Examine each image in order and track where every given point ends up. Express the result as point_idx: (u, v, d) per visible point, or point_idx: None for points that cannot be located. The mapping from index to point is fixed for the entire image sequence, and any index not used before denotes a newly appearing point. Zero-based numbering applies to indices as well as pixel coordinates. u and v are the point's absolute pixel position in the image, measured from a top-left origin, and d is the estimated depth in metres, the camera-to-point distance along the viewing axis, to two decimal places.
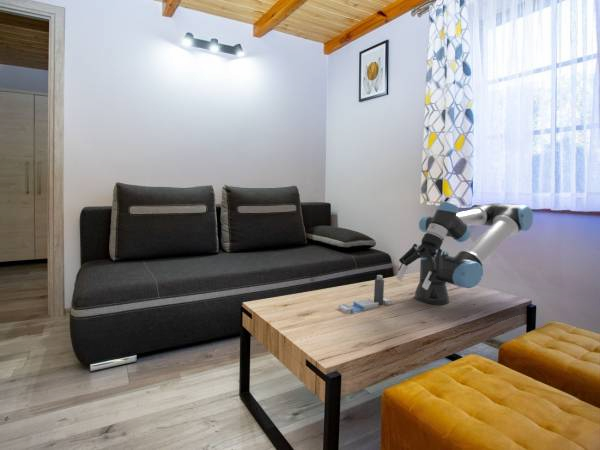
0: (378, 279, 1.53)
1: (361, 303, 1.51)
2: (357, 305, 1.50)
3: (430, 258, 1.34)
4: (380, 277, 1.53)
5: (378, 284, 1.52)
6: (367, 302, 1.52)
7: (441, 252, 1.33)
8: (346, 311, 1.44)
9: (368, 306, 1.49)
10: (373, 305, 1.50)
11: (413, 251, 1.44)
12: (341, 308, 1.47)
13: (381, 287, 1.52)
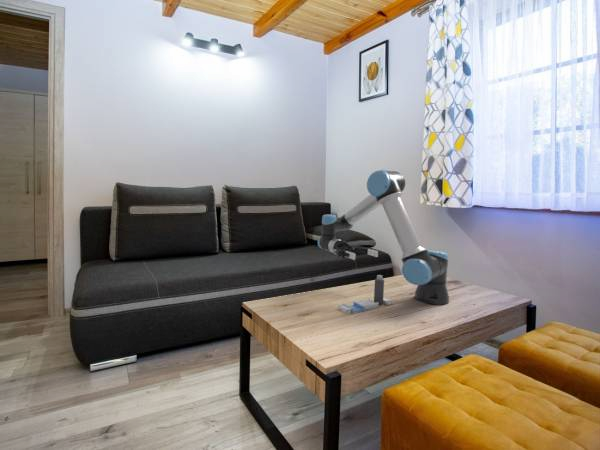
0: (378, 279, 1.53)
1: (361, 303, 1.51)
2: (357, 305, 1.50)
3: None
4: (380, 277, 1.53)
5: (378, 284, 1.52)
6: (367, 302, 1.52)
7: (334, 251, 1.70)
8: (346, 311, 1.44)
9: (368, 306, 1.49)
10: (373, 305, 1.50)
11: None
12: (341, 308, 1.47)
13: (381, 287, 1.52)
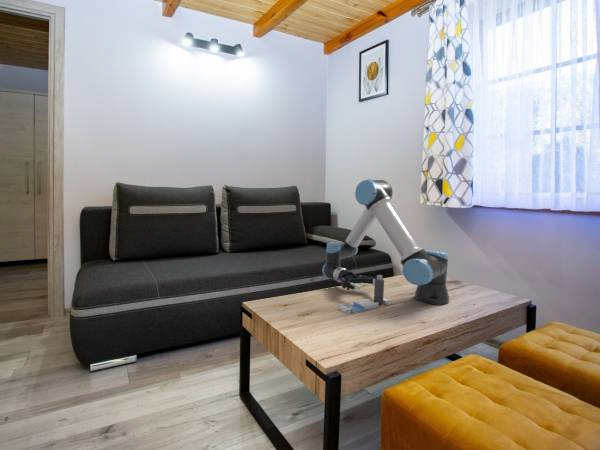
0: (378, 279, 1.53)
1: (361, 303, 1.51)
2: (357, 305, 1.50)
3: None
4: (380, 277, 1.53)
5: (378, 284, 1.52)
6: (367, 302, 1.52)
7: (339, 281, 1.68)
8: (346, 311, 1.44)
9: (368, 306, 1.49)
10: (373, 305, 1.50)
11: None
12: (341, 308, 1.47)
13: (381, 287, 1.52)
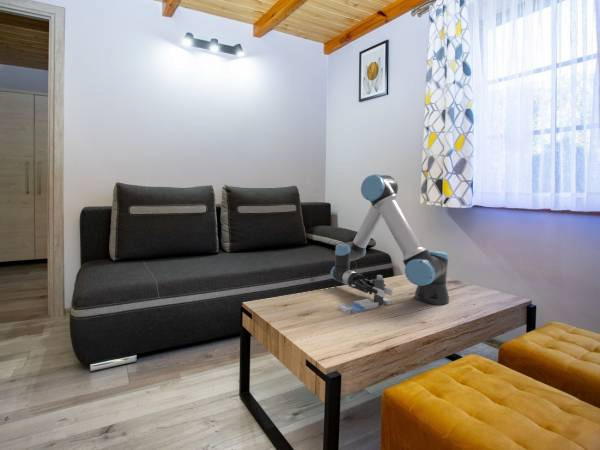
0: (378, 279, 1.53)
1: (361, 303, 1.51)
2: (357, 305, 1.50)
3: None
4: (380, 277, 1.53)
5: (378, 284, 1.52)
6: (367, 302, 1.52)
7: (353, 286, 1.60)
8: (346, 311, 1.44)
9: (368, 306, 1.49)
10: (373, 305, 1.50)
11: None
12: (341, 308, 1.47)
13: (381, 287, 1.52)
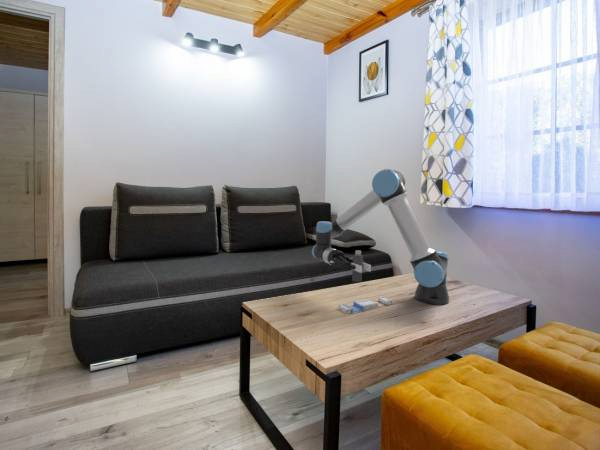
0: (356, 254, 1.47)
1: (361, 303, 1.51)
2: (357, 305, 1.50)
3: None
4: (358, 252, 1.46)
5: (356, 260, 1.46)
6: (367, 302, 1.52)
7: (331, 262, 1.54)
8: (346, 311, 1.44)
9: (368, 306, 1.49)
10: (373, 305, 1.50)
11: None
12: (341, 308, 1.47)
13: (359, 263, 1.46)
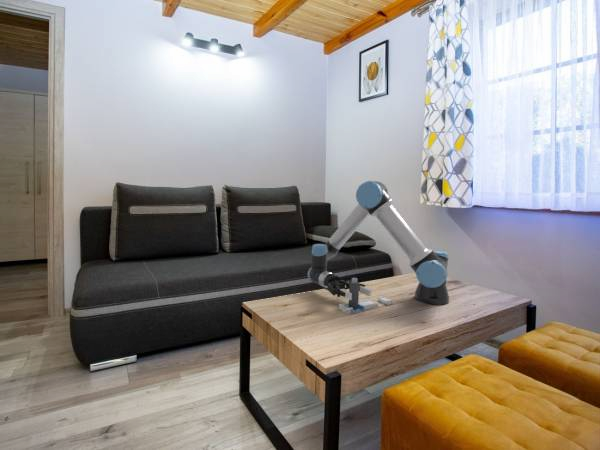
0: (353, 282, 1.46)
1: (361, 303, 1.51)
2: None
3: None
4: (355, 280, 1.46)
5: (352, 288, 1.46)
6: (367, 302, 1.52)
7: (325, 287, 1.54)
8: (346, 311, 1.44)
9: (368, 306, 1.49)
10: (373, 305, 1.50)
11: None
12: (341, 308, 1.47)
13: (356, 291, 1.46)
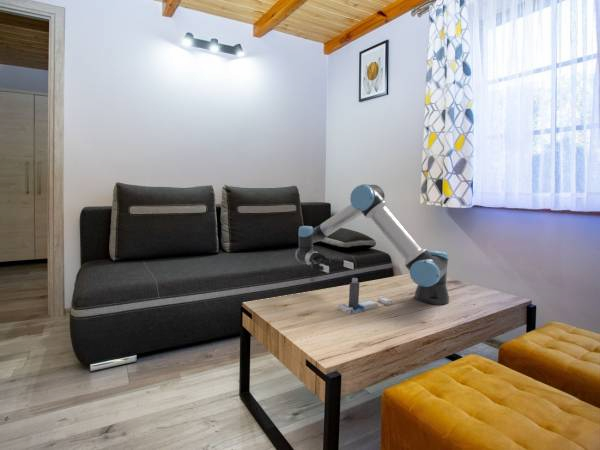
0: (353, 282, 1.46)
1: (361, 303, 1.51)
2: None
3: None
4: (355, 280, 1.46)
5: (352, 288, 1.46)
6: (367, 302, 1.52)
7: (310, 264, 1.66)
8: (346, 311, 1.44)
9: (368, 306, 1.49)
10: (373, 305, 1.50)
11: None
12: (341, 308, 1.47)
13: (356, 291, 1.46)
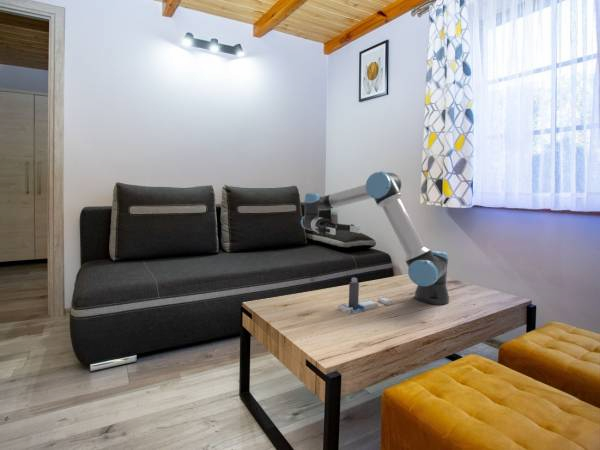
0: (353, 282, 1.46)
1: (361, 303, 1.51)
2: None
3: None
4: (355, 280, 1.46)
5: (352, 288, 1.46)
6: (367, 302, 1.52)
7: (316, 228, 1.65)
8: (346, 311, 1.44)
9: (368, 306, 1.49)
10: (373, 305, 1.50)
11: None
12: (341, 308, 1.47)
13: (356, 290, 1.46)
